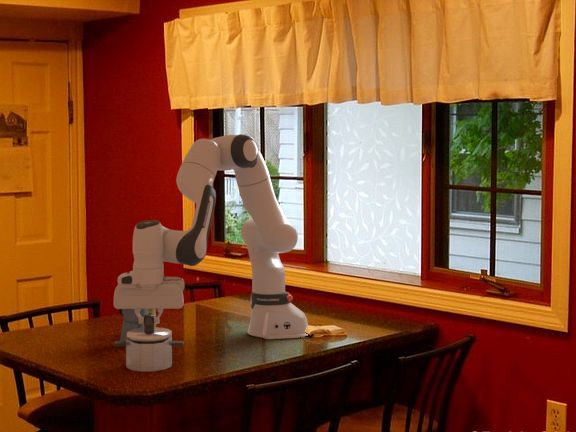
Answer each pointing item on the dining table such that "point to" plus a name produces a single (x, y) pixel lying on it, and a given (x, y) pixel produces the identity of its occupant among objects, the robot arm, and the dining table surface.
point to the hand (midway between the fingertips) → (149, 323)
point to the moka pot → (130, 321)
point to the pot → (148, 354)
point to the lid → (149, 331)
